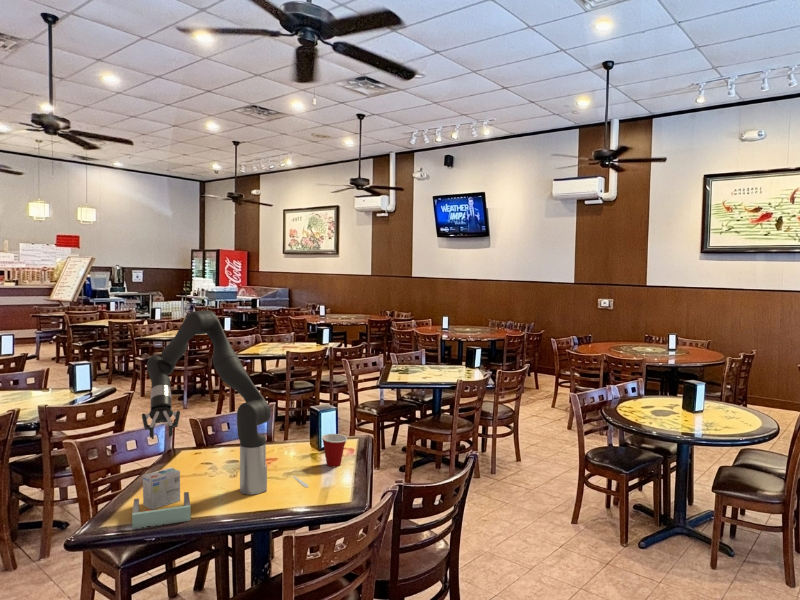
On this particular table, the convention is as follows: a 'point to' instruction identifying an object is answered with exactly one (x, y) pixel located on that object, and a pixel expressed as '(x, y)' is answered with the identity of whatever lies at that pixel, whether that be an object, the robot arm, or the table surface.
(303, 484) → the butter knife
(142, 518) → the cradle
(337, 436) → the plastic cup
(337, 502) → the table surface
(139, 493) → the table surface
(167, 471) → the light bulb box
